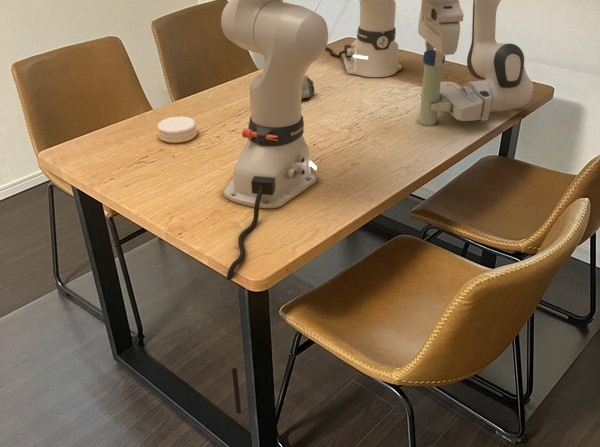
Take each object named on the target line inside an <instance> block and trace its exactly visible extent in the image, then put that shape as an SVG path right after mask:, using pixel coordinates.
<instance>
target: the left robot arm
mask: <svg viewBox="0 0 600 447" xmlns="http://www.w3.org/2000/svg"><path fill="white" fill-rule="evenodd" d="M420 6H421V8H420V12H419V19H418V27H417V30H418V31H417V32H418V35H419V36H420V37H421V38H423V40H424V41H425V42H424V43H425V44H424V46H425V51H429V50H436V53H437V54H436V58H434V65H435V66H436V67H440V66H442V67H443V65H442V62H443V59H444V56H445V57H446V56H450V55H455V54H456V52H457V49H458V46H459V45H458V44H459V40H460V34H461V24H460V23H461V22H463V20H464V11H463V9H462V7H461V3H460V0H421V4H420ZM220 26H221V31H222V33H223V35H224V37H225V38H226V39H227V40H228V41H230V42H231V43H233V44H234V45H236V46H237V47H239V48H241V49H242V50H245V51H249V52H252V53H255V54H259V55H262V56H263V58H264V65H263V66H264V67H263V71H262V72H261V73H260V74H258V75H257V76H256V77H255V78H253V79H252V81H251V83H250V85H249V101H250V102H249V103H250V117H249V123H248V126H247V128H245V127H244V128H243V129H242V131H241V137H242V138H244V139H247V140H246V142H245V144H244V146H243V148H242V151H241V153H240V154H239V157H238V159H237V161H236V163H235V166H234V167H233V168H234V169H233V177H232V178H231V180H230V181H229V183H228V184H227V186H226V187H225V188H224V190H223V196H224V198H225V199H228V200H229V201H231V202H233V203H237V204H239V205H244V206H248V207H252V208H253V217H252V221H251V224H250V225H249V226H248V227H247V228H245V229H244V230H243V231H242V232H240V234H239V236H238V241H237V244H238V249H239V252H240V253H239V256H238V257H237V258H236V259H235V260H234V261H233V262H232V263H231V265H230V266H229V268H228V270H227V273H226V280H227V281H231V280H232V279H233V276H234V273H235V270H236V268H237V267H238V266H239V265H240V264H241V263H243V261H244V260H245V257H246V247H245V244H244V240H245V237H246V236H247V235H248V234H249V233H251V232H252V231H253V230H254V229H255V227H256V225H257V224H258V222H259V214H260V209H278V208H280V207H283V205H285V204H286V203H288V202H289V201H292V199H294V198H295V197H296V196H298V195H299V194H301V193H303V192H304V191H305V190H307V189H308V188H309V187H311V186H313V185H314V184H316V182H317V176H316V175H315V174H314V173H312V168H313V170H314V171H317V165H316V164H315V163H313V161H312V160H311V154H310V147H309V145H308V144H307V142H306V140H305V138H304V133H305V132H304V131H305V130H304V127H305V121H304V116H303V115H302V99H301V94H302V83H303V79H304V76H306V72H307V71H308V69H309V68H310V66H311V65H312V64H313V63H315V62H316V61H317V60H319V58H320V57H321V56H322V55H323V54H324V52H325V50H326V49H325V48H326V47H328V46H327V45H328V41H329V28H328V24H327V22H326V20H325V19H324V17H323V16H321V15H320V14H319V13H316V12H315V11H314V10H311V9H310V8H307V7H305V6H303V5H299V4H295V3H289V2H285V1H284V0H229V1H228V2H227V3H226V4H225V6H224V7H223V10H222V12H221V17H220ZM231 375H232V383H233V392H234V402H235V403H234V404H235V413H236V414H239V415H240V414H241V413H242V406H241V395H240V386H239V375H238V367H233V368H231Z"/></svg>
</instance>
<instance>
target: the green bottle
mask: <svg viewBox="0 0 600 447" xmlns="http://www.w3.org/2000/svg"><path fill="white" fill-rule="evenodd" d="M443 65H444V63H443V64H442V66H440V67H436V66H435V65H429V64H425V63H424V64H423V77H422V87H421V96H420V108H419V120H418V122H419V124H420V125H424V126H433V125H436V124H437V119H438V118H437V117H438V111H439V110H436V111H432V110H431V109H430V103H432V102H437V103H438V102H439V92H440V83H441V82H442V75H443V74H442V73H443Z"/></svg>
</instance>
